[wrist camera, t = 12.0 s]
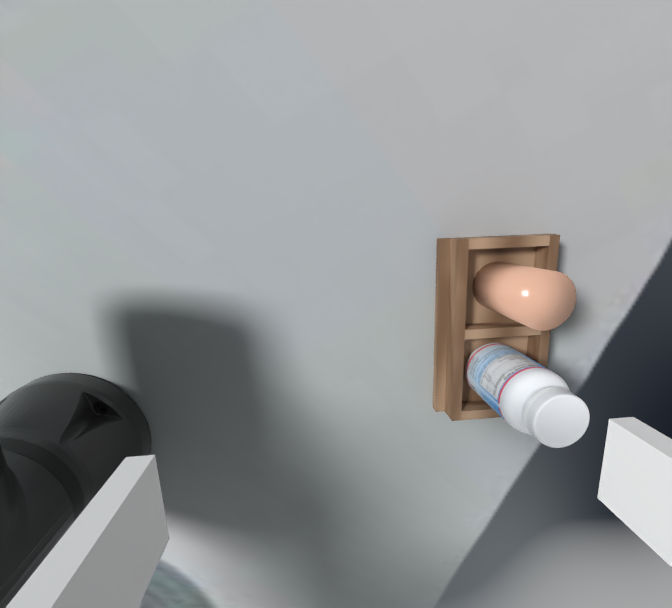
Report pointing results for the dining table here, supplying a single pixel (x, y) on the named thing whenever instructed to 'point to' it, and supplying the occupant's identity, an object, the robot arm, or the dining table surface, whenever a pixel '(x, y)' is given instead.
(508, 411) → the pill bottle
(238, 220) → the dining table surface
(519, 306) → the peach capsule shape
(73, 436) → the robot arm
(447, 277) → the rack
